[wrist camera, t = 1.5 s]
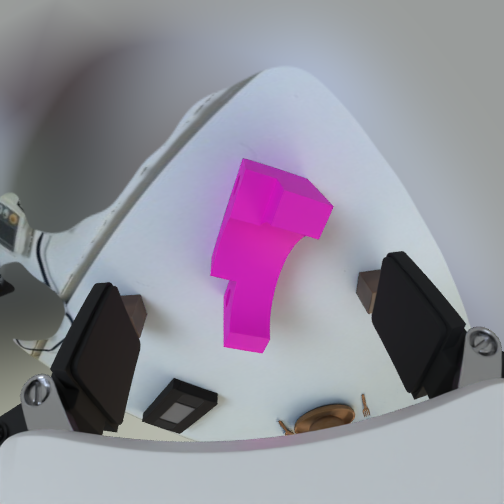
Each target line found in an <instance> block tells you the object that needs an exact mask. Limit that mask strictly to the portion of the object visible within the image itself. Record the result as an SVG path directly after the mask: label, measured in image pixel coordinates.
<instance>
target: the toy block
mask: <svg viewBox="0 0 504 504" xmlns="http://www.w3.org/2000/svg"><path fill="white" fill-rule="evenodd" d="M333 207H334V206H333V205H332V204H331V203H330V202H329V201H328V200H327V199H326V198H325V197H324V196H323V195H322V194H321V193H320V192H319V190H318V189H317V188H316V187H315V186H314V185H313V184H312V183H311V182H310V181H309V180H308V179H306V178H303V177H300V176H297V175H295V174H292V173H289V172H286V171H283V170H280V169H276V168H273V167H270V166H267V165H264V164H261V163H257V162H254V161H251V160H248V159H244V158H243V159H242V162H241V165H240V168H239V172H238V175H237V178H236V181H235V184H234V187H233V190H232V193H231V196H230V199H229V203H228V206H227V209H226V212H225V215H224V219H223V222H222V225H221V228H220V232H219V235H218V238H217V241H216V245H215V248H214V251H213V255H212V263H211V274H210V276H214V277H218V278H222V279H227V280H229V283H228V286H227V289H226V292H225V295H224V347H227V348H233V349H239V350H245V351H251V352H257V353H263V352H264V350H265V348H266V346H267V344H268V342H269V340H270V314H271V306H272V300H273V295H274V291H275V287H276V284H277V280H278V277H279V274H280V272H281V269H282V267H283V264H284V262H285V260H286V258H287V256H288V254H289V253H290V251H291V250H292V248H293V247H294V245H295V244H296V243H297V242H298V241H299V240H300V239H302V238H303V237H305V236H309V237H312V238H315V239H319V238H320V236H321V234H322V232H323V229H324V227H325V225H326V223H327V220H328V218H329V216H330V214H331V211H332V209H333Z"/></svg>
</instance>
